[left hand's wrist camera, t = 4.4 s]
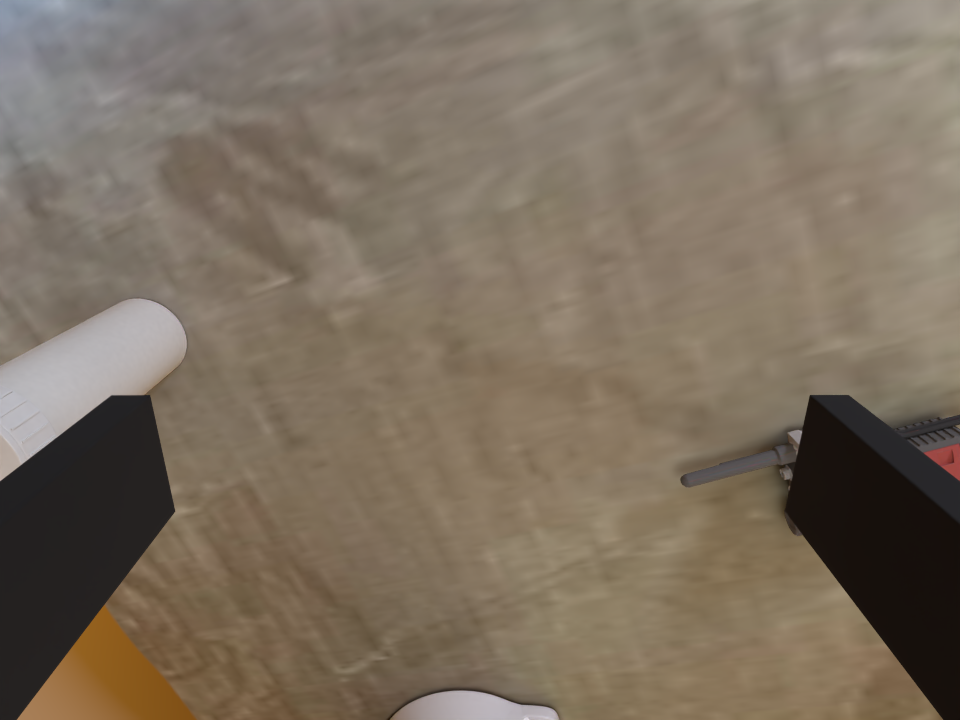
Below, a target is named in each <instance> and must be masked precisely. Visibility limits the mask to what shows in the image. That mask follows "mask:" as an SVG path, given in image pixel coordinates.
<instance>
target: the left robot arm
mask: <svg viewBox="0 0 960 720" xmlns="http://www.w3.org/2000/svg"><path fill="white" fill-rule="evenodd" d="M174 512H175V508H174V504H173V499H172V494H171V490H170V485H169V481H168V476H167V471H166V467H165V462H164V457H163V453H162V448H161V444H160V439H159V434H158V430H157V425H156V420H155V416H154V411H153V407H152V402H151V397H150V395H111V396H110V397H108V398H107V399H106V400H105V401H103V402H102V403H101V404H99V405H98V406H97V407H96V408H94V409H93V410H92V411H90V412H89V413H88V414H86V415H85V416H84V417H83V418H81V419H80V420H79V421H77V422H76V423H75V424H73V425H72V426H71V427H70V428H68V429H67V430H66V431H64V432H63V433H62V434H61V435H59V436H58V437H57V438H55V439H54V440H53V441H51V442H50V443H49V444H48V445H46V446H45V447H44V448H42V449H41V450H40V451H38V452H37V453H36V454H35V455H33V456H32V457H31V458H29V459H28V460H27V461H26V462H24V463H23V464H22V465H20V466H19V467H18V468H16V469H15V470H14V471H13V472H11V473H10V474H9V475H7V476H6V477H5V478H3V479H2V480H1V481H0V720H17V719H18V717H19V716H20V715H21V713H22V712H23V711H24V709H25V708H26V707H27V705H28V704H29V703H30V701H31V700H32V699H33V698H34V696H35V695H36V693H37V692H38V691H39V690H40V688H41V687H42V686H43V684H44V683H45V682H46V680H47V679H48V678H49V676H50V675H51V674H52V673H53V671H54V670H55V669H56V667H57V666H58V665H59V663H60V662H61V661H62V659H63V658H64V657H65V655H66V654H67V653H68V652H69V650H70V649H71V648H72V646H73V645H74V644H75V642H76V641H77V640H78V638H79V637H80V636H81V634H82V633H83V632H84V631H85V629H86V628H87V627H88V625H89V624H90V623H91V621H92V620H93V619H94V617H95V616H96V615H97V613H98V612H99V611H100V610H101V608H102V607H103V606H104V604H105V603H106V602H107V600H108V599H109V598H110V596H111V595H112V594H113V592H114V591H115V590H116V588H117V587H118V586H119V585H120V583H121V582H122V581H123V579H124V578H125V577H126V575H127V574H128V573H129V571H130V570H131V569H132V567H133V566H134V565H135V564H136V562H137V561H138V560H139V558H140V557H141V556H142V554H143V553H144V552H145V550H146V549H147V548H148V546H149V545H150V544H151V543H152V541H153V540H154V539H155V537H156V536H157V535H158V533H159V532H160V531H161V529H162V528H163V527H164V525H165V524H166V523H167V521H168V520H169V519H170V518H171V516H172V515H173V514H174ZM785 512H786V514H787V515H788V516H789V518H790V519H791V520H792V521H793V523H794V524H795V525H796V527H797V528H798V529H799V531H800V532H801V533H802V535H803V536H804V537H805V539H806V540H807V541H808V543H809V544H810V545H811V546H812V548H813V549H814V550H815V552H816V553H817V554H818V556H819V557H820V558H821V560H822V561H823V562H824V564H825V565H826V566H827V567H828V569H829V570H830V571H831V573H832V574H833V575H834V577H835V578H836V579H837V581H838V582H839V583H840V585H841V586H842V587H843V588H844V590H845V591H846V592H847V594H848V595H849V596H850V598H851V599H852V600H853V602H854V603H855V604H856V606H857V607H858V608H859V610H860V611H861V612H862V613H863V615H864V616H865V617H866V619H867V620H868V621H869V623H870V624H871V625H872V627H873V628H874V629H875V631H876V632H877V633H878V634H879V636H880V637H881V638H882V640H883V641H884V642H885V644H886V645H887V646H888V648H889V649H890V650H891V652H892V653H893V654H894V655H895V657H896V658H897V659H898V661H899V662H900V663H901V665H902V666H903V667H904V669H905V670H906V671H907V673H908V674H909V675H910V677H911V678H912V679H913V680H914V682H915V683H916V684H917V686H918V687H919V688H920V690H921V691H922V692H923V694H924V695H925V696H926V698H927V699H928V700H929V701H930V703H931V704H932V705H933V707H934V708H935V709H936V711H937V712H938V713H939V715H940V716H941V717H942V719H943V720H960V481H959V480H958V479H957V478H955V477H954V476H953V475H951V474H950V473H949V472H947V471H946V470H945V469H944V468H942V467H941V466H940V465H938V464H937V463H936V462H934V461H933V460H932V459H931V458H929V457H928V456H927V455H925V454H924V453H923V452H922V451H920V450H919V449H918V448H916V447H915V446H914V445H912V444H911V443H910V442H909V441H907V440H906V439H905V438H903V437H902V436H901V435H899V434H898V433H897V432H896V431H894V430H893V429H892V428H890V427H889V426H888V425H887V424H885V423H884V422H883V421H881V420H880V419H879V418H877V417H876V416H875V415H874V414H872V413H871V412H870V411H868V410H867V409H866V408H864V407H863V406H862V405H861V404H859V403H858V402H857V401H855V400H854V399H853V398H852V397H850V396H849V395H810V397H809V402H808V407H807V411H806V416H805V420H804V425H803V430H802V434H801V439H800V444H799V448H798V453H797V457H796V462H795V467H794V471H793V476H792V481H791V485H790V490H789V494H788V499H787V504H786V508H785Z"/></svg>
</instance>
